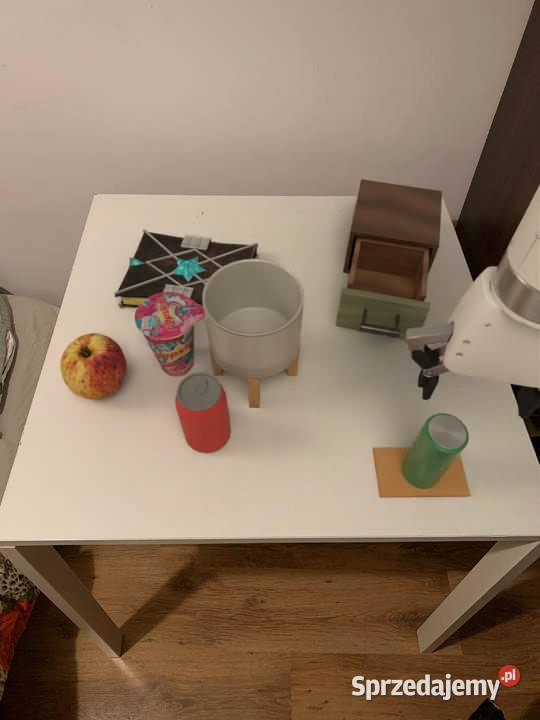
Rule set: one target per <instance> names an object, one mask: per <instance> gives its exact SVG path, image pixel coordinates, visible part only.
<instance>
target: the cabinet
mask: <svg viewBox="0 0 540 720" xmlns="http://www.w3.org/2000/svg"><path fill="white" fill-rule="evenodd" d="M356 197H357V198H356V202H355V207H354V212H353V216H352V220H351V226H350V231H349V236H348V242H347V247H346V253H345V257H344V264H343V268H342V273H344V274H349V275H350V270H351V265H352V260H353V255H354V250H355V245H356V240H357V237H363V238H369V239H376V240H382V241H388V242H394V243H400V244H406V245H413V246H419V247H425V248H429V263H428V275H429V273H430V271H431V268H432V266H433V263H434V261H435V258H436V255H437V253H438V250H439V248H440V243H441V222H442V207H443V206H442V202H443V190H437V189H430V188H424V187H423V188H422V187H418V186H417V187H416V186H410V185H404V184H403V185H402V184H396V183H390V182H383V181H376V180H369V179H363V178H362V179H360V184H359V188H358V192H357V196H356Z"/></svg>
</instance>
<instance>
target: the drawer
mask: <svg viewBox="0 0 540 720" xmlns="http://www.w3.org/2000/svg"><path fill="white" fill-rule="evenodd" d="M428 263H429V248H425V247H419V246H413V245H406V244H400V243H394V242H388V241H382V240H376V239H369V238H363V237H357V240H356V245H355V250H354V255H353V260H352V265H351V270H350V274H349V275H348V282H347V285H346V287H342V289H341V295H340V298H339V304H338V310H337V315H336V319H335V326H340V327H346V328H351V329H354V330H355V329H356V330H358V332H361V333H366V334H371V335H376V336H380V337H381V336H382V337H387V338H393V339H400V338H404V339H406V331H407V329H410V328H416V327H424V326H425V323H426V320H427V318H428V315H429V313H430V310H431V307H432V305H431V304H432V303H431V302H428V301H425V300H426V298H427V290H428V277H429V274H428Z"/></svg>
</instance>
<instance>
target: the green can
mask: <svg viewBox="0 0 540 720" xmlns="http://www.w3.org/2000/svg"><path fill="white" fill-rule="evenodd" d="M422 425H423V426H422V427H421V429H420V431H419V432H418V434H417V436H416V437H415V439H414V441H413V443H412V444H411V446H410V447H411V448H410V450H409V451H408V453H407V455H406V456H405V458H404V460H403V462H402V466H401V469H402V474H403V476H404V478H405V479H406V480H407V482H408V483H410V484H411V485H412V486H414V487H417V488H421V489H428V488H431V487H433V486H434V485H436V483H437V482H438V481H439V480H440V478H441V477H442V476H443V475H444V473H445V472H446V471H447V470H448V468H449V467H450V466H451V465H452V463H453V462H454V461H455V460H456V458H457V457H458V456H459V455H460V456H461V454H462V452H463V451H464V450H465V448H466V447H467V446H468V444H469V441H470V434H469V430H468V427H467V426H466V425H465V424H464V422H463V421H462V420H461V419H460V418H458V417H457V416H455V415H453V414H450V413H446V412H438V413H435V414H432V415H430V416H429V417H427V419H426V420H425V422H424V423H423V424H422Z"/></svg>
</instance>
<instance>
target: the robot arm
mask: <svg viewBox="0 0 540 720" xmlns="http://www.w3.org/2000/svg"><path fill="white" fill-rule="evenodd" d="M404 339H405V341H404V342H405V345H406V346H407V349H408V352H410V354H411V355H410V358H411V359H412V361H413V362H414V363H415V364H417V366H419V368H421V369H420V372H419V373H418V378H417V388H421V389H422V392H421V400H422V401H429V400H431V398H432V396H433V394H434V392H435V390H436V388H437V386H438V385H439V382H440V375H443V374H446V373H449V372H452V373H454V374H458V375H463V376H466V377H472V378H477V379H482V380H487V381H494V382H499V383H504V384H510V385H516V386H521V387H520V388H519V390H518V391H517V393H516V399H517V412H518V414H517V415H518V417H519V418H520V419H523V420H527V419H528V418H529V417H530V416H531V415H533V413H534V412H535V411H536V410H538V409H539V408H540V184H539V186H538V187H537V189H536V192H535V193H534V196H533V197H532V199H531V201H530V202H529V205H528V207H527V209H526V211H525V213H524V214H523V217H522V219H521V221H520V222H519V224H518V226H517V228H516V230H515V231H514V234H513V236H512V238H511V239H510V241H509V244H508V246H507V248H506V249H505V251H504V253H503V255H502V258H501V259H500V261H499V263H498V265H497V266H493V265H491V266H487V267H486V268H485V269H484V270H483V271H482V272H481V273H480V274H479V275H478V276H477V277H476V279H474V281H473V282H472V283H471V285H470V286H469V287H468V289H467V290H466V291H465V293H464V294H463V295H462V297H461V299H460V300H459V301H458V303H457V305H456V306H455V307H454V309H453V311H452V313H451V315H450V317H449V318H448V320H447V322H446V323H440V324H432V325H423V327H416V328H410V329H407V331H406V338H404ZM429 345H432V346H430V347H429ZM440 357H444V358H443V359H442V360H441V358H440Z"/></svg>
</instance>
